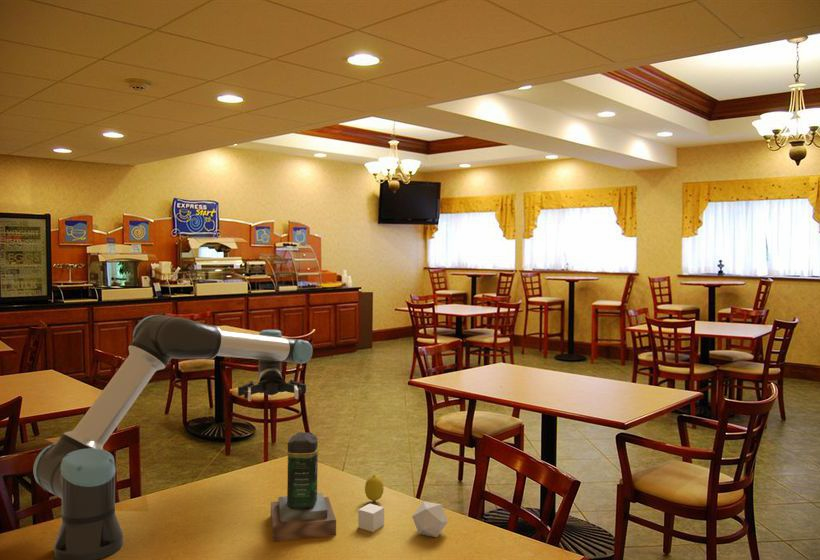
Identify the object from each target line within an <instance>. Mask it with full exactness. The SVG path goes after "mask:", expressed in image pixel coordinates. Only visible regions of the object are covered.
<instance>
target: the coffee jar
mask: <svg viewBox="0 0 820 560" xmlns="http://www.w3.org/2000/svg"><path fill="white" fill-rule="evenodd" d="M318 448H319V447H318V437H317V436H316V435H315V434H313V433H312V432H301V431H300V432H297V433H296V434H294V435H292V436H291V437H290V438H289V439H288V442H287V487H286V488H287V491H286V494H287V495H286V496H287V505H288V506H289V507H292V508H296V509H305V508H309V507H313V506H314V505H315V503H316V501H317V493H318V471H319V469H318V463H319V462H318V461H319V459H318V458H319V457H318V450H319V449H318Z"/></svg>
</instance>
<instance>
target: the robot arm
mask: <svg viewBox="0 0 820 560" xmlns="http://www.w3.org/2000/svg"><path fill="white" fill-rule="evenodd" d="M282 334H283V333H282V331H281V330H279V329H263V330H261V331H260V332H259V334H258V333H257V334H256V333H248V332H241V331H233V330H231V331H230V330H223V329H220V328H219V327H218V326H217V325H212V324H206V323H202V322H198V321H195V320H192V319H189V318H183V317H178V316H169V315H165V314H155V315H154V314H153V315H149V316H146V317H144V318H143V319H141V320H140V321H139V322H138V323H137V324H136V325H135V327H134V329H133V331H132V341H131V343H130V344H129V345H128V352H129V355H128V356H127V357H126V358H125V360H124V361H123V363H122V364H121V365H120V367H119V368H118V370H117V371H116V372H115V373H114V375H113V376H112V378H111V379H110V381H109V382H108V383H107V385H106V386H105V387H104V389H102V391H101V392H100V393H99V395H98V396H97V398H96V399H95V400H94V401H93V403H92V405H91V406H90V408H88V410H87V411H86V413H85V414H84V416H83V417H82V418H81V419H80V421H79V422H78V423H77V425H76V426H75V427H74V429H72V430H70V431H66V432H64V433H63V434H62V435H61V436H60V438H59V439H58V440H57V442H55V443H53V444H50V445H48V446H46V447H45V448H43V449H42V450H41V451H40V452H39V454H38V455H37V456H36V458H35V460H34V463H33V467H32V470H33V476H34V480H35V482H36V483H37V484H38V485H39V486H40V488H41V489H42V490H44V491H45V492H49V493H51V494H53V495H54V496H56V497H58V498H59V499H61V524H60V527H59V530H58V533H57V536H56V539H55V542H54V546H53V557H54V558H56V559H55V560H101V559H103V558H106V557H108V556H111V555H112V554H115V553H116V552H118V551H119V550H120V549H121V548H122V547H123V544H124V533H123V530H122V528H121V525H120V522H119V520H118V517H117V514H116V463H115V458H114V455H113V454H112V453H111V452H109V451H107V450H105V449H104V445H105V444H106V442H107V441H108V440H109V438H110V437H111V436H112V434H113V433H114V431H115V430H116V428H117V427H118V426H119V424H120V423H121V421H122V420H123V418H124V417H125V416H126V414H127V413H128V411H129V410H130V408H131V407H132V405H133V404H134V403H135V402H136V400H137V399H138V397H139V396H140V394H142V392H143V390H144V389H145V388H146V386H147V385H148V383H149V382H150V380H151V379H152V378H153V376H154V375H155V373H156V372H157V371H160V370H164V369H165V368H166V367H167V366H168V365H169V362H170V361H171V360H172V359H176V360H188V359H207V360H210V359H211V360H212V359H214V358H215V357H216V356H217V357H227V358H238V359H239V358H240V359H250V360H251V359H252V360H253V359H254V360H258V371H257V374H258V375H257V379H258V383H256V382H254V381H252V380H251V381H249V382H247V383H245V384H242V385H240V386H237V396H239V397H241V396H243V398H244V399H245V400H246V399H247V401H248V402H251V401H252V395H256V394H264V395H267V396H275V395H277V394H279V393H284V392H286V393H291V394H292V393H293V395H294V398H295V400H299V395H302V394H306V393H307V384H305V383H302V382H297V381H295V380H294V379H290V380H288V382H286V381H285V380H284V379H283V376H282V362H285V363H287V362H288V363H295V364H306V363H308V362H309V361H310V360H311V359H312V356H313V351H314V350H313V346H312V344H311V343H310V342H309V341H307V340H304V339H295V338H289V337H284V336H282Z"/></svg>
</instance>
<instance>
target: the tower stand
mask: <svg viewBox="0 0 820 560" xmlns="http://www.w3.org/2000/svg"><path fill="white" fill-rule="evenodd" d="M270 521H271V522H270V523H271V534H272V540H273V543H274V542H283V541H285V542H286V541H292V540H300V539H301V540H304V539H313V538H321V537H322V538H323V537H329V536H331V537H332V536H336V535H337V518H336V515H335V513H334V509H333V506H332V504H331V501H330V498H329V496H324V495H323V492H319V493H318V492H317V501H316V503H315V505H314V506H313V507H309V508H305V509H296V508H292V507H289V506H288V505H287V495H286V496H284V495H283V496H278V501H271V502H270Z"/></svg>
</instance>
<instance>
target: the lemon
mask: <svg viewBox="0 0 820 560" xmlns="http://www.w3.org/2000/svg"><path fill="white" fill-rule="evenodd" d="M383 483H384V482H383V480H382V479H381V478H380V477H379V476H377V475H375V474H373V475H372V476H370V477H369V478H368V479H367V480H366V482H365V485H364V492H365V493H364V494H365V495H366V497H367V499H368V500H370V501H372V503H376V502H377V501H378V500H380V499H381V498H382V496H383V494H384V489H385V488H384V484H383Z"/></svg>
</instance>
